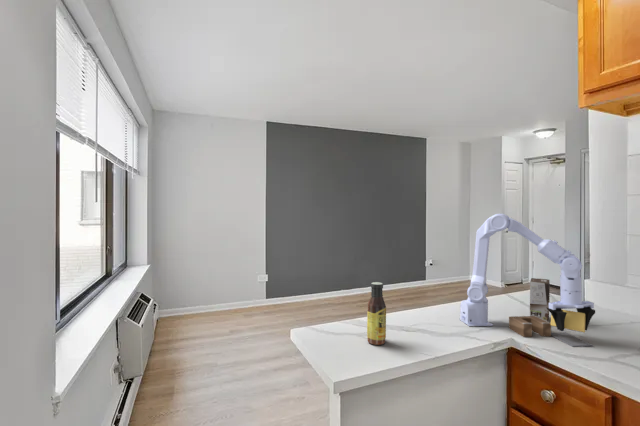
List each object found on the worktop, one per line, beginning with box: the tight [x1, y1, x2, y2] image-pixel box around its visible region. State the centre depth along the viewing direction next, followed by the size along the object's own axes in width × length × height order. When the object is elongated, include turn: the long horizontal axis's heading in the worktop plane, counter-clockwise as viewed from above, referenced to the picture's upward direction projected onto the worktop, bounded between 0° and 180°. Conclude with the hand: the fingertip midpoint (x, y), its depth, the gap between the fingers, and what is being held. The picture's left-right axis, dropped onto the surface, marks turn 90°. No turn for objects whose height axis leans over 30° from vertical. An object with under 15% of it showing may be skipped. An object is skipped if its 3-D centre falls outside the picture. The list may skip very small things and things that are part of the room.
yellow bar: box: [550, 309, 586, 334], centre depth 110 cm, size 3×9×6 cm, turn 43°
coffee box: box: [529, 277, 551, 322], centre depth 129 cm, size 9×6×16 cm
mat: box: [550, 331, 594, 348], centre depth 110 cm, size 7×11×1 cm, turn 3°
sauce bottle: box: [366, 281, 387, 346], centre depth 108 cm, size 6×6×20 cm
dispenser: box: [508, 315, 552, 338], centre depth 116 cm, size 10×8×5 cm
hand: (571, 329), depth 109 cm, fingers open, 7 cm apart
